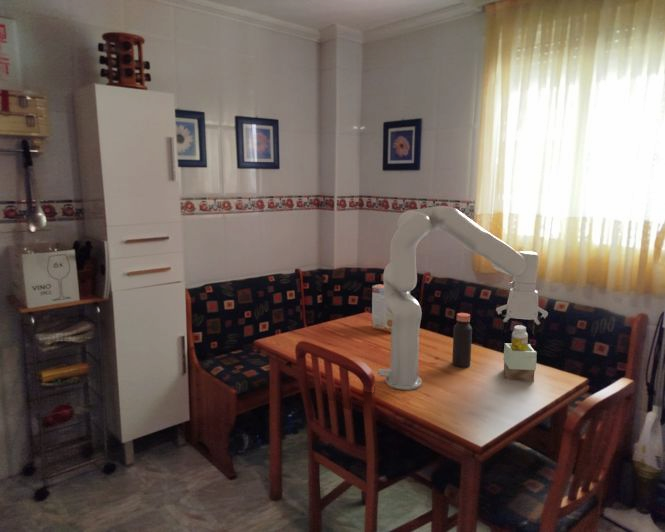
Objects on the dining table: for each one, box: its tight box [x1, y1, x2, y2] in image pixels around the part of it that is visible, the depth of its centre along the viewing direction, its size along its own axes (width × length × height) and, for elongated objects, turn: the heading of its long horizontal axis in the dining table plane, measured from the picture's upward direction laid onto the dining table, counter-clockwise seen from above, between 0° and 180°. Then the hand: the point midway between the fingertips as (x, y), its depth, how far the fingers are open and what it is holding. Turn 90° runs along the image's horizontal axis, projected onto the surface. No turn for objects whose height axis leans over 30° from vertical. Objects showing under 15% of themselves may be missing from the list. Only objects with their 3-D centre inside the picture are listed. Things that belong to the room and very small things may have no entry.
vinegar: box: [451, 312, 473, 368], centre depth 187 cm, size 7×7×20 cm
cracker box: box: [371, 283, 393, 333], centre depth 229 cm, size 14×6×21 cm, turn 46°
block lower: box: [503, 360, 536, 383], centre depth 178 cm, size 9×9×4 cm
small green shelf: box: [503, 342, 538, 371], centre depth 176 cm, size 9×9×6 cm
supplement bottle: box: [511, 324, 529, 351], centre depth 175 cm, size 5×5×10 cm
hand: (519, 332), depth 175 cm, fingers open, 9 cm apart
